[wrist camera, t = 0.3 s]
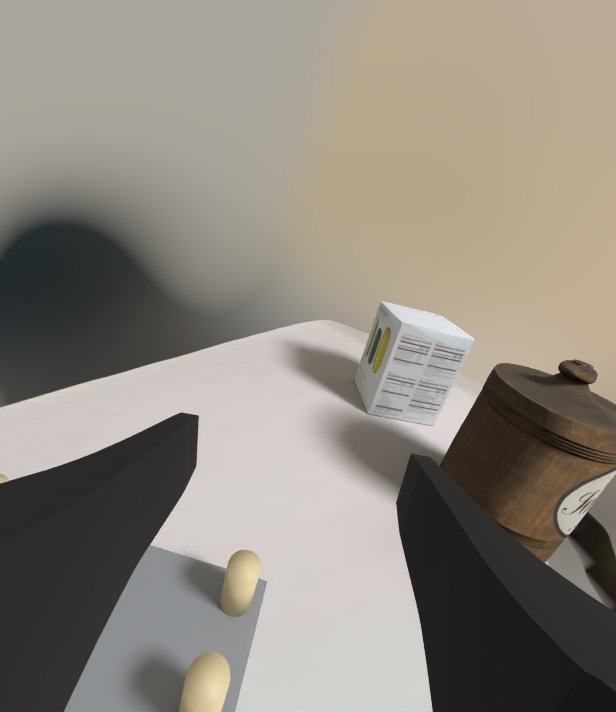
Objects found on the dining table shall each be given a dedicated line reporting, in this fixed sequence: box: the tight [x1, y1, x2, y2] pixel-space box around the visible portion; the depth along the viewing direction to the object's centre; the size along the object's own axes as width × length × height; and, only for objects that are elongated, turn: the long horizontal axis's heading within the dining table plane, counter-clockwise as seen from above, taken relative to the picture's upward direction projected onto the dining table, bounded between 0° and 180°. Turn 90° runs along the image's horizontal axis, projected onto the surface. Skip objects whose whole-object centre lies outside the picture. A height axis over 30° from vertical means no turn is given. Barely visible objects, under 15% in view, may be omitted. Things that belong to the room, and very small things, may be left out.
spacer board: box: [0, 474, 267, 712], centre depth 18 cm, size 20×24×5 cm
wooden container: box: [440, 360, 616, 562], centre depth 39 cm, size 15×15×22 cm
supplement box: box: [354, 301, 474, 426], centre depth 62 cm, size 13×13×18 cm
